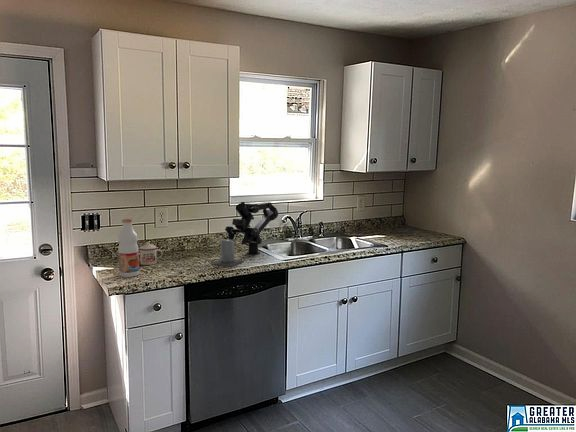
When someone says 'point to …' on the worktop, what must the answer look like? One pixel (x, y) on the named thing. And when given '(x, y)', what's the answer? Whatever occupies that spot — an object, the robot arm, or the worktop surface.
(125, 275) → the fruit juice
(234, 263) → the rubber mat
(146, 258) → the teacup with lid
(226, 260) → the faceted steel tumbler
